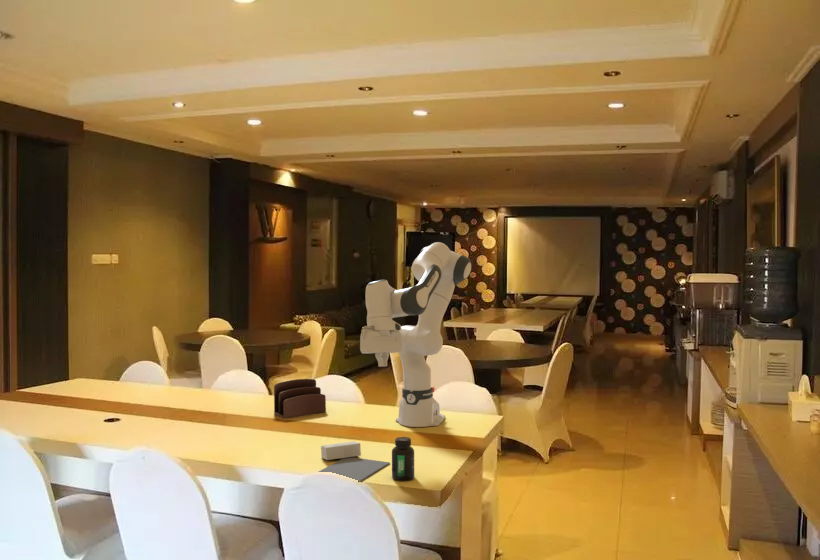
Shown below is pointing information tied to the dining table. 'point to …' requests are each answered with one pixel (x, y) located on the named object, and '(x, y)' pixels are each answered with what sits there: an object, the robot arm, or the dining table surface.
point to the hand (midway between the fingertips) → (382, 366)
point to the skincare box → (340, 450)
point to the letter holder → (298, 398)
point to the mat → (356, 467)
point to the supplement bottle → (403, 460)
